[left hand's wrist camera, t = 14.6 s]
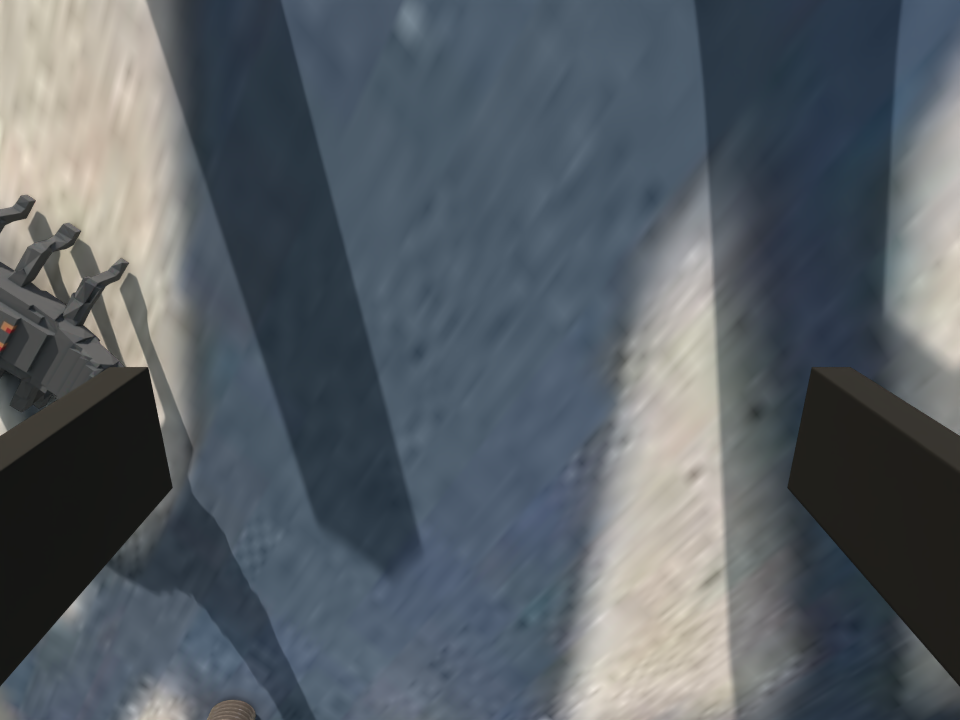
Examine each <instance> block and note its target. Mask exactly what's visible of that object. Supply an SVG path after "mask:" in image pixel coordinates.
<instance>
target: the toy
mask: <svg viewBox="0 0 960 720" xmlns="http://www.w3.org/2000/svg"><path fill="white" fill-rule="evenodd" d="M35 201H36V200H34V199H33V198H31V197H30V196H28V195H22V196H20V198H19V199H18V201H17V202H16V204H15V205H14V206H13V207H10V208H5V209H0V233H1V231H2V229H3V228H4V226H5V225H7V224H9V223H11V222H13V221H17V220H21V219H26V218H27V216H28V214H29V213H30V211H31V209H32V207H33V205H34V203H35ZM80 232H81V231H80V230H79V229H78V228H76V227H75V226H73V225H72V224H70V223H65V224H63V225H62V226H61V228H60V229H59V230H58V232H57V233H56V234H55V235H54V236H53V237H51V238H49V239H47V240H43V241H40V242H36V243H34V244H32V245H30V246H29V247H27V249H26V251H25V253H24V255H23V256H22V258H21V260H20V262H19V264H18V265H17V267H16V269H15V271H14V270H12V269H11V268H9V267H8V266H6V265H5V264H3V263H1V262H0V378H1V376H2V375H3V373H4V371H5V370H6V371H7V372H9V373H11V374H13V375H14V376H16V377H18V378H19V379H21V380H22V381H21V383H20V385H19V387H18V389H17V391H16V393H15V395H14V397H13V399H12V401H11V403H10V406H12V407H13V408H15V409H17V410H18V411H20V412H23V411H25V410H26V409H28V408H29V407H30V406H32V405H34V406H36V407H37V408H39V409H40V408H41V407H43V406H45V405H46V404H47V402H48V401H49V399H50V397H51V396H52V393H53V394H55V395H56V396H57V397H56V399H57V400H58V399H60V398H61V397H63V396H65V395H66V394H68V393H69V392H71V391H72V390H74V389H76V388H77V387H79V386H80V385H82V384H84V383H85V382H87V381H88V380H90V379H92V378H93V377H95V376H96V375H98V374H99V373H101V372H103V371H104V370H106V369H107V368H109V367H124V366H123V365H122V364H121V363H120V362H119V360H118V359H117V358H116V357H115V356H113V355H112V354H111V353H110V352H109V351H108V350H107V349H106V348H104V347H103V346H102V345H101V344H100V342H99V341H100V340H99V339H98V338H97V337H96V336H95V335H94V334H93V333H92V332H91V331H89V330H88V329H87V328H86V327H85V326H83V324H84V322H85V320H86V318H87V316H88V314H89V312H90V310H91V308H92V306H93V305H94V303H95V302H96V300H97V299H98V297H99V296H100V294H101V293H102V291H103V290H104V288H105V287H106V286H107V285H108V284H110V283H113V282H115V281H117V280H119V279H120V278H121V276H122V274H123V272H124V271H125V269H126V267H127V266H128V264H129V263H128V262H127V261H125V260H124V259H122V258H120V259H119V260H118V261H117V262H116V263H115V264H114V265H113V266H111V268H110V269H109V270H108V271H106V272H103V273H101V274H98V275H95V276H93V277H90V276H88V277H85V278H83V280H82V282H81V283H80V285H79V287H78V289H77V291H76V293H72V295H71V298H70V300H69V302H68V304H67V306H66V304H64V303H63V302H61V301H60V300H58V299H57V298H55V297H54V296H53V295H51V294H50V293H48V292H47V291H41V290H40V289H39V288H37V287H36V286H35V285H34V284H33V283H31V282H32V281H33V280H34V279H35V278H36V276H37V275H38V273H39V271H40V270H41V268H42V267H43V265H44V263H45V262H46V260H47V259H48V257H49V256H50V255H51V253H52V252H54V251H58V250H63V249H67V248H69V247H71V246H72V245H74V243H75V241H76V239H77V238H78V236H79V234H80ZM51 392H52V393H51Z"/></svg>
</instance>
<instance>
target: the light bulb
mask: <svg viewBox="0 0 960 720" xmlns="http://www.w3.org/2000/svg"><path fill="white" fill-rule="evenodd" d="M255 716H256V715H255V711H254V709H253V708H252V707H251V706H250V705H249V704H247V703H245V702H242V701H238V700H227V701H223V702H220V703H218V704H217V705H215V706H214V707H213V709H212V710H211V712H210V714H209V717H208V718H207V720H255Z"/></svg>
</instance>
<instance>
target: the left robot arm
mask: <svg viewBox="0 0 960 720" xmlns="http://www.w3.org/2000/svg"><path fill="white" fill-rule="evenodd" d="M172 488H173V487H172V483H171V478H170V473H169V468H168V463H167V458H166V453H165V448H164V443H163V438H162V433H161V428H160V423H159V418H158V413H157V408H156V403H155V399H154V394H153V389H152V384H151V379H150V374H149V369H148V367H109V368H107V369H106V370H104V371H103V372H101V373H99V374H98V375H96V376H95V377H93V378H92V379H90V380H88V381H87V382H85V383H84V384H82V385H80V386H79V387H77V388H76V389H74V390H72V391H71V392H69V393H68V394H66V395H65V396H63V397H61V398H60V399H58V400H57V401H55V402H53V403H52V404H50V405H49V406H47V407H45V408H44V409H42V410H41V411H39V412H38V413H36V414H34V415H33V416H31V417H30V418H28V419H26V420H25V421H23V422H22V423H20V424H19V425H17V426H15V427H14V428H12V429H11V430H9V431H7V432H6V433H4V434H3V435H1V436H0V686H1V685H2V684H3V682H4V681H5V680H6V679H7V678H8V677H9V676H10V674H11V673H12V672H13V671H14V670H15V669H16V668H17V666H18V665H19V664H20V663H21V662H22V661H23V659H24V658H25V657H26V656H27V655H28V654H29V653H30V651H31V650H32V649H33V648H34V647H35V646H36V644H37V643H38V642H39V641H40V640H41V639H42V638H43V636H44V635H45V634H46V633H47V632H48V631H49V630H50V628H51V627H52V626H53V625H54V624H55V623H56V621H57V620H58V619H59V618H60V617H61V616H62V615H63V613H64V612H65V611H66V610H67V609H68V608H69V606H70V605H71V604H72V603H73V602H74V601H75V600H76V598H77V597H78V596H79V595H80V594H81V593H82V592H83V590H84V589H85V588H86V587H87V586H88V585H89V583H90V582H91V581H92V580H93V579H94V578H95V577H96V575H97V574H98V573H99V572H100V571H101V570H102V568H103V567H104V566H105V565H106V564H107V563H108V562H109V560H110V559H111V558H112V557H113V556H114V555H115V554H116V552H117V551H118V550H119V549H120V548H121V547H122V545H123V544H124V543H125V542H126V541H127V540H128V539H129V537H130V536H131V535H132V534H133V533H134V532H135V530H136V529H137V528H138V527H139V526H140V525H141V524H142V522H143V521H144V520H145V519H146V518H147V517H148V516H149V514H150V513H151V512H152V511H153V510H154V509H155V507H156V506H157V505H158V504H159V503H160V502H161V501H162V499H163V498H164V497H165V496H166V495H167V494H168V492H169V491H170V490H171V489H172ZM787 488H788V489H789V490H790V491H791V492H792V494H793V495H794V496H795V497H796V498H797V499H798V501H799V502H800V503H801V504H802V505H803V506H804V507H805V509H806V510H807V511H808V512H809V513H810V514H811V516H812V517H813V518H814V519H815V520H816V521H817V522H818V524H819V525H820V526H821V527H822V528H823V529H824V530H825V532H826V533H827V534H828V535H829V536H830V537H831V539H832V540H833V541H834V542H835V543H836V544H837V545H838V547H839V548H840V549H841V550H842V551H843V552H844V554H845V555H846V556H847V557H848V558H849V559H850V560H851V562H852V563H853V564H854V565H855V566H856V567H857V568H858V570H859V571H860V572H861V573H862V574H863V575H864V577H865V578H866V579H867V580H868V581H869V582H870V583H871V585H872V586H873V587H874V588H875V589H876V590H877V592H878V593H879V594H880V595H881V596H882V597H883V598H884V600H885V601H886V602H887V603H888V604H889V605H890V606H891V608H892V609H893V610H894V611H895V612H896V613H897V615H898V616H899V617H900V618H901V619H902V620H903V621H904V623H905V624H906V625H907V626H908V627H909V628H910V630H911V631H912V632H913V633H914V634H915V635H916V636H917V638H918V639H919V640H920V641H921V642H922V643H923V644H924V646H925V647H926V648H927V649H928V650H929V651H930V653H931V654H932V655H933V656H934V657H935V658H936V659H937V661H938V662H939V663H940V664H941V665H942V666H943V668H944V669H945V670H946V671H947V672H948V673H949V674H950V676H951V677H952V678H953V679H954V680H955V681H956V682H957V684H958V685H959V686H960V436H959V435H957V434H956V433H954V432H953V431H951V430H949V429H948V428H946V427H945V426H943V425H941V424H940V423H938V422H937V421H935V420H934V419H932V418H930V417H929V416H927V415H926V414H924V413H922V412H921V411H919V410H918V409H916V408H915V407H913V406H911V405H910V404H908V403H907V402H905V401H903V400H902V399H900V398H899V397H897V396H895V395H894V394H892V393H891V392H889V391H888V390H886V389H884V388H883V387H881V386H880V385H878V384H876V383H875V382H873V381H872V380H870V379H868V378H867V377H865V376H864V375H862V374H861V373H859V372H857V371H856V370H854V369H853V368H851V367H812V369H811V374H810V379H809V384H808V389H807V394H806V399H805V403H804V408H803V413H802V418H801V423H800V428H799V433H798V438H797V443H796V448H795V453H794V458H793V463H792V468H791V473H790V478H789V483H788V487H787Z"/></svg>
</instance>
